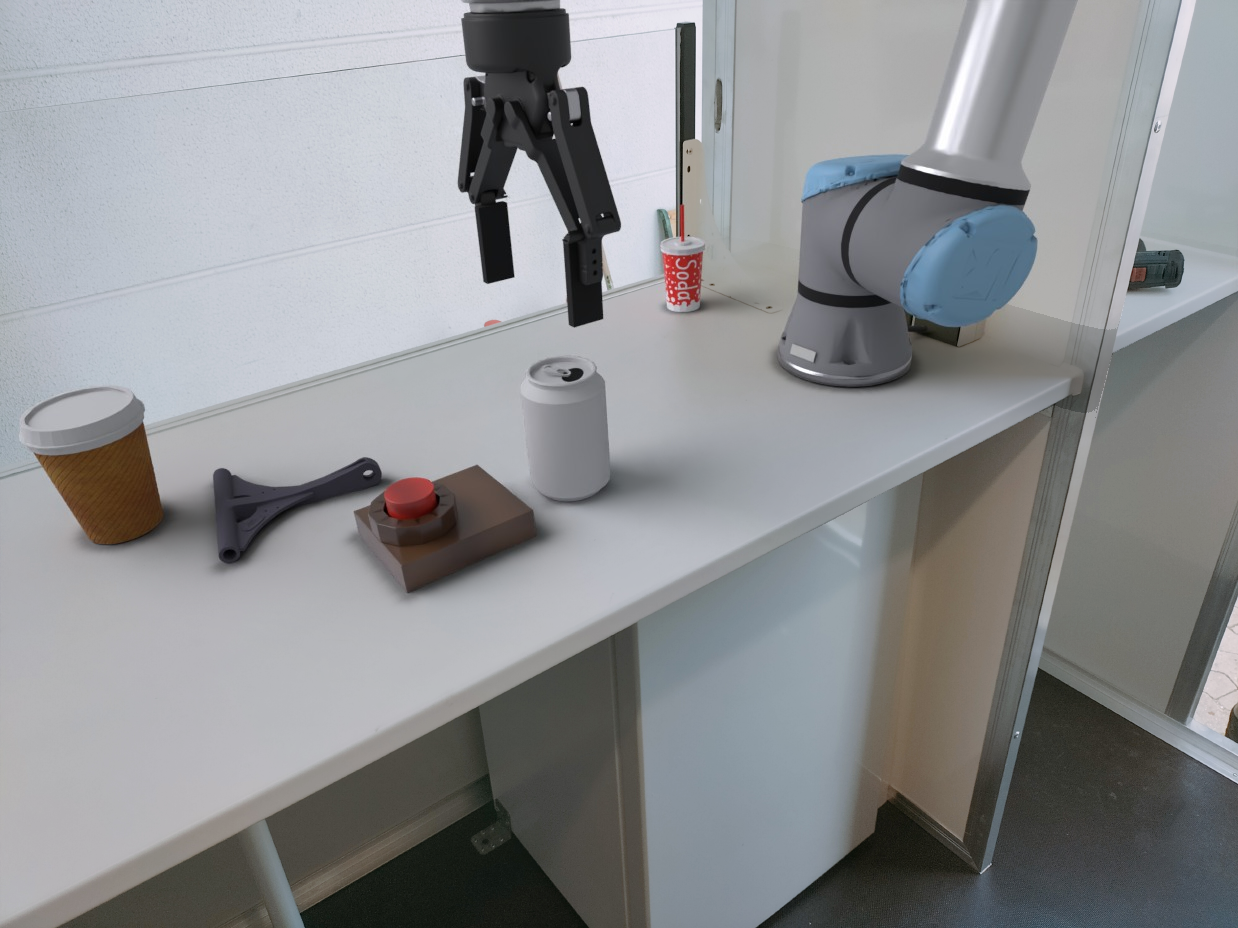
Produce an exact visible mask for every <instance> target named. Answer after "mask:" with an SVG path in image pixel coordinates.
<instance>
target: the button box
mask: <svg viewBox="0 0 1238 928" xmlns="http://www.w3.org/2000/svg"><path fill="white" fill-rule="evenodd" d="M431 482H432V483H433V485H434V490H435V495H436V500H437V507H436V508H435V509H434V510H433V511H432V512H431V513H428V514H426V515H423V516H421V517H418V518H413V519H403V520H400V519H396V518H392V517H390V515H389V514H388V510H387V506H386V501H385V497H384V493H385V490H383V491H382V492H381V493H380V494H379V495H378V496H376V497H375V498H373V500H371V502H370V504H369V505H367V506H363V507H361V508H359V509H356V510H353V515H354V520H355V523H356V528H357V531H358V535H359V537H360V539H361V541H362V542H363V543H365V545H366V546H367V548H368V549H370V551H371V552H372V553H373V554H374V555H375V557H376V558H377V559H378V560H379V561H380V563H381V564H382V565H383V567H385V569H387V571H388V572H389V573H390V574H391V576H392V577H393V578H394V579H395V580H396V581H397V583H398V584H399V585H400V586H401V588H402V589H403V590H404V591H405V592H406V593H407V594H409V593H410V592H413V591H416V590H417V589H420V588H423V587H424V586H427V585H429V584H431V583H433V582H435V581H438V580H440V579H442V578H445V577H447V576H449V575H452V574H453V573H457V572H458V571H460V570H463V569H465V568H467V567H469V566H472V565H474V564H476V563H479V562H481V561H484V560H485V559H487V558H490V557H492V556H495V555H497V554H499V553H501V552H503V551H505V550H508V549H510V548H512V547H515V546H517V545H519V544H522V543H524V542H526V541H528V540H530V539H533V538H535V537H536V536H537V529H536V522H535V513H534V509H532V508H531V507H530V506H529V505H528V504H527V503H525V502H524V501H523V500H522V499H520V498H519V497H518V496H516V495H515V494H514V493H513V492H512V491H511V490H510V489H508V488H507V487H506V486H504V485H503V484H502V483H500V481H498V480H497V479H496V478H495V477H493V476H492V475H491V474H489V472H487V471H486V470H485V469H484V468H482V467H481V466H480V465H479V464H474V465H472V466H469V467H467V468H465V469H462V470H459V471H456V472H454V473H451V474H449V475H446V476H443V477H441V478H438V479H435V480H433V481H432V480H431Z"/></svg>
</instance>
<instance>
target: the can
mask: <svg viewBox="0 0 1238 928" xmlns="http://www.w3.org/2000/svg"><path fill="white" fill-rule="evenodd" d="M597 371H598V366H597V365H596V363H595V362H594V361H592V360H590V359H589V358H586V357H583V356H579V355H566V354H565V355H553V356H549V357H545V358H541V359H538V360H537V361H535V362H533V363H531V364H530V365H529V366H528V367H527V368H526V370H525V374H524V375H525V378H524V380H522V383H521V385H520V388H519V394H520V403H521V410H522V411H521V412H522V420H523V427H524V428H523V429H524V436H525V445H526V453H527V461H528V470H529V471H528V472H529V478H530V479H529V480H530V482H531V485H532V488H534V489H535V490H536V491H537V492H538V493H540V494H542V495H544V496H545V497H546V498H549V499H551V500H554V501H558V502H577V501H578V502H579V501H583V500H585V499H588V498H591V497H593V496H594V495H596V494H598V493H599V492H600V490H602V489H603V488H604V487H605V486H606V485H607V484H608V483H609V481H610V480H611V472H612V471H611V457H610V455H611V454H610V439H609V426H608V407H607V391H606V381H605V379H604V377H603V376H602V375H601V374H600V373H599V372H597Z"/></svg>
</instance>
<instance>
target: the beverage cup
mask: <svg viewBox="0 0 1238 928" xmlns="http://www.w3.org/2000/svg"><path fill="white" fill-rule="evenodd" d="M659 247H660V252H662V263H663V275H664V287H665V298H666V308H667V309H668V310H669V311H671V312H676V313H690V312H694V311H697V310H698V309H699V308H701V307H700V306H701V305H700V304H701V293H702V292H701V290H702V277H703V276H702V275H703V259H704V251H705V250H706V240H704V239H703V238H700V237H697V236H687V235H686V236H685V204H680V236H673V237H669V238H668V237H667V238H665V239H663V240H661V241H660V244H659Z"/></svg>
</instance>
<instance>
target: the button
mask: <svg viewBox="0 0 1238 928" xmlns="http://www.w3.org/2000/svg"><path fill="white" fill-rule="evenodd" d="M384 491H385V493H384V497H385V501H386V506H387V510H388V514H389V515H390V517H392V518H396V519H400V520H403V519H413V518H418V517H421V516H423V515H426V514H428V513H431V512H432V511H433V510H434V509H435V508H436V507H437V500H436V495H435V490H434V485H433V483H432V480H429V479H427V478H425V477H417V476H416V477H413V476H412V477H406V478H402V479H399V480H396V481H395V482H393V483H391V484H390V485H388V486H387V487H386V489H385V490H384Z"/></svg>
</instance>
